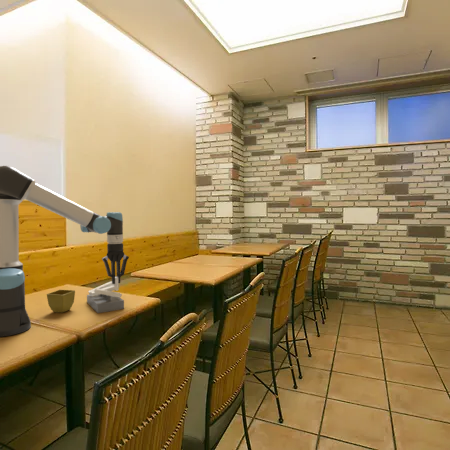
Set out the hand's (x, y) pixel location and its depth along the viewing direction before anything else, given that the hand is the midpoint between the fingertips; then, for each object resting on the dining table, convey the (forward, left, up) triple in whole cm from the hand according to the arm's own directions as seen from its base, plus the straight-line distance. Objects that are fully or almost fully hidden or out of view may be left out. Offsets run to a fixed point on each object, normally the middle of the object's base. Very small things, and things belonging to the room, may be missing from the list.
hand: (116, 290), depth 166 cm
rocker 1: (-6, +7, +1) cm, 9 cm away
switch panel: (-6, 0, -7) cm, 9 cm away
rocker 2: (-6, 0, +1) cm, 6 cm away
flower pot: (-25, +2, -7) cm, 26 cm away
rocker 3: (-6, -6, +1) cm, 9 cm away
